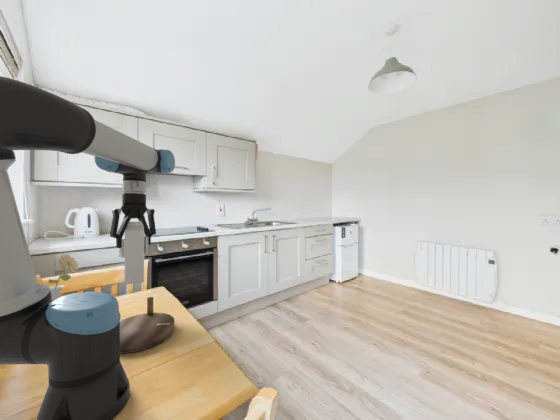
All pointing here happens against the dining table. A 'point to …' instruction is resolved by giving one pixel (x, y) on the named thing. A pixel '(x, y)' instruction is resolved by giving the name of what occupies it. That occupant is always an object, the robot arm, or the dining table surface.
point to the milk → (134, 253)
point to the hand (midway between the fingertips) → (134, 255)
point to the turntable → (145, 330)
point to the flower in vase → (69, 267)
